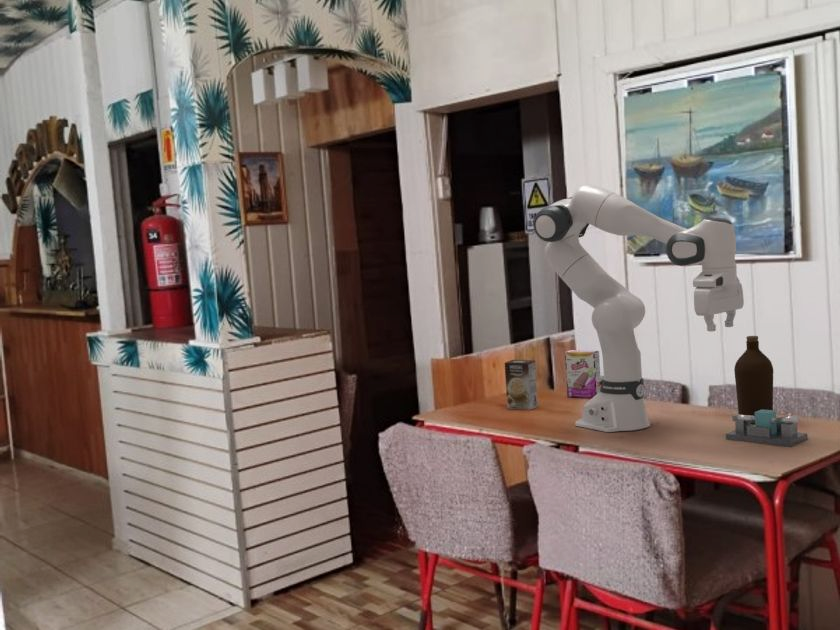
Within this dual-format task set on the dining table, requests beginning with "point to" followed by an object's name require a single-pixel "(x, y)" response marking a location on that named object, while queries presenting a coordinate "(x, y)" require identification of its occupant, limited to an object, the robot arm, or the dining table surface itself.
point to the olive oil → (753, 380)
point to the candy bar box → (582, 373)
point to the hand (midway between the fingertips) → (720, 329)
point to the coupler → (766, 420)
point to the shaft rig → (767, 431)
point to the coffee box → (521, 384)
